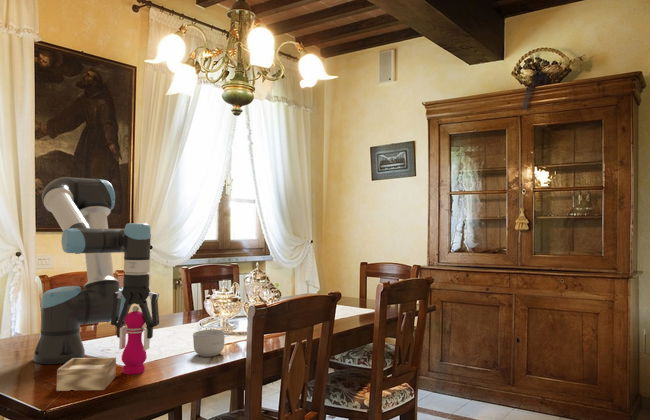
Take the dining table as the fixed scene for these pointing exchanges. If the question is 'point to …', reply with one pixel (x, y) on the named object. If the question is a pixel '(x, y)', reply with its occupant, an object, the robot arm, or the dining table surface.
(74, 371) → the oak box
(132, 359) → the pepper mill
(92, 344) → the dining table surface
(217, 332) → the teacup
